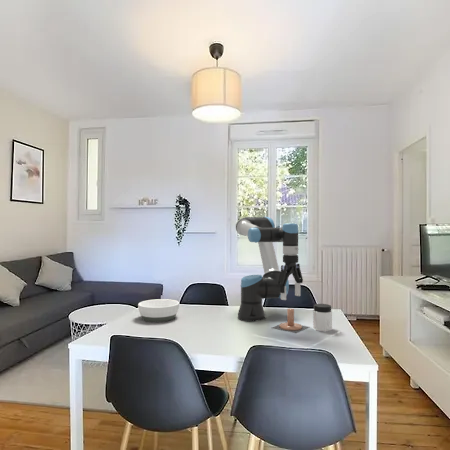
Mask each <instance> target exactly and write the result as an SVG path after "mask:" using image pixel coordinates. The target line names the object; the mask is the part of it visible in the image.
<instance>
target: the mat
mask: <svg viewBox="0 0 450 450" xmlns="http://www.w3.org/2000/svg"><path fill="white" fill-rule="evenodd" d="M284 323H287V321H285V322H284ZM279 325H280V324H278V325H275V326H272V327H271V329H272V330H273V329H274V330H279V331H284V332H287V333H292V334H297V333H300V332H302V331H303V332H304V330H307V329H309V328H311V326H307V325H302V324H301V325H302V329H301V330H295V331H290V330H284V329H281V328H280V327H279Z"/></svg>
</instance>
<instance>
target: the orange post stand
mask: <svg viewBox="0 0 450 450" xmlns="http://www.w3.org/2000/svg"><path fill="white" fill-rule="evenodd" d="M286 310H287V313H286V316H287V317H286V318H287V319H286V320H287V321H286V322H287V323H285V322H282V323H279V324H278V325H279V327H280V328H281V329H284V330H290V331H295V330H301V329H302V324H301V323H297V322H295V309H294V308H287V309H286Z"/></svg>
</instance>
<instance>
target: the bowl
mask: <svg viewBox="0 0 450 450" xmlns="http://www.w3.org/2000/svg"><path fill="white" fill-rule="evenodd" d="M137 307H138V308H137V309H138V311H139V315H140V316H141V317H142V320H143V321H145V322H150V323H162V322H169V321H172V320H174V319H175V317H176V315H177V314H178V312H179V308H180V302H179V301H178V300H176V299H170V298H169V299H167V298H158V299H148V300H142V301H140V302H138V304H137Z"/></svg>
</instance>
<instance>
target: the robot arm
mask: <svg viewBox="0 0 450 450" xmlns="http://www.w3.org/2000/svg"><path fill="white" fill-rule="evenodd" d="M235 231H236V232H237V234H238V235H240V236H242V237H243V236H244V237H245V236H246V237H247V239H248V241H249V242H250V243H257V244H258V247H259V253H260V258H261V259H260V260H261V263H262V268H263V273H264V274H263V275H262V274H250V275H246V276H245V275H244V276H243V277H242V278H241V281H240V306H239V309H238V313H237V319H238V320H240V321H243V322H256V321H262V320H265V319H266V313H265V310H264V306H263V299H280V300H282V301H287V295H288V294H289V288H290V287H289V286H290V281H289V277H290V276H291V275H292V277H293V279H294V281H295V282H294V296H295V297H301V284H302V283H303V281H304V277H303V274H302V270H301V266H300V265H301V264H300V263H299V255H298V254H299V225H298V224H297V223H296V222H295V223H289V222H288V223H283V224H282V227H276V226H275V221H274V220H273V219H272V218H271V217H267V216H246V217H245V216H244V217H242V218H240V219H238V220H237V222H236V224H235ZM274 243H282V254H283V255H282V262H283V263H284V264H283V265H281V267H280V269H279V265H278V259H277V256H276V252H275V247H274Z"/></svg>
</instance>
